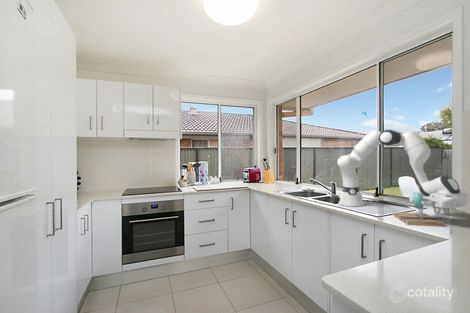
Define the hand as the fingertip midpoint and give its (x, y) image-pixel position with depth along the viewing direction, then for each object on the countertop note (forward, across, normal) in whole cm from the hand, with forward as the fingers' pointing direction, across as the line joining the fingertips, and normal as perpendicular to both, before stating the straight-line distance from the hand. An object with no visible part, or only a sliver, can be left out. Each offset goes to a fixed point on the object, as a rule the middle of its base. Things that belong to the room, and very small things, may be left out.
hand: (417, 202), depth 123 cm
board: (-2, -3, +11) cm, 12 cm away
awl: (-1, 0, +8) cm, 8 cm away
